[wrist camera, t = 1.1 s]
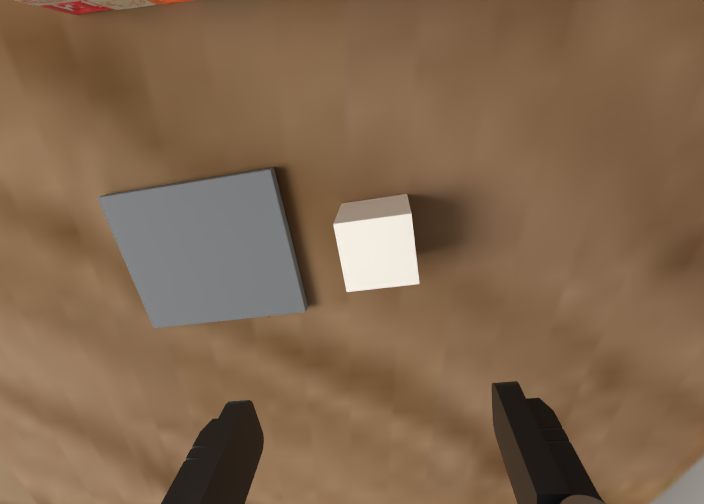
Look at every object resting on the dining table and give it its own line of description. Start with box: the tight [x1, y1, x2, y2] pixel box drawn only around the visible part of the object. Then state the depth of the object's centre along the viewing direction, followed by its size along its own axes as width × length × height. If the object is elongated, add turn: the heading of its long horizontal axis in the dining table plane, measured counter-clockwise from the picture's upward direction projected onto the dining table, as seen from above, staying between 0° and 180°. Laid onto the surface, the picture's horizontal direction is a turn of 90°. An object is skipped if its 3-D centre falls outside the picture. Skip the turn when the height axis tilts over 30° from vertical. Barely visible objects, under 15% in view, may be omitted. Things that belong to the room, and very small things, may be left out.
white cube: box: [333, 194, 419, 292], centre depth 27 cm, size 5×5×5 cm
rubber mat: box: [98, 167, 308, 328], centre depth 31 cm, size 14×12×1 cm
